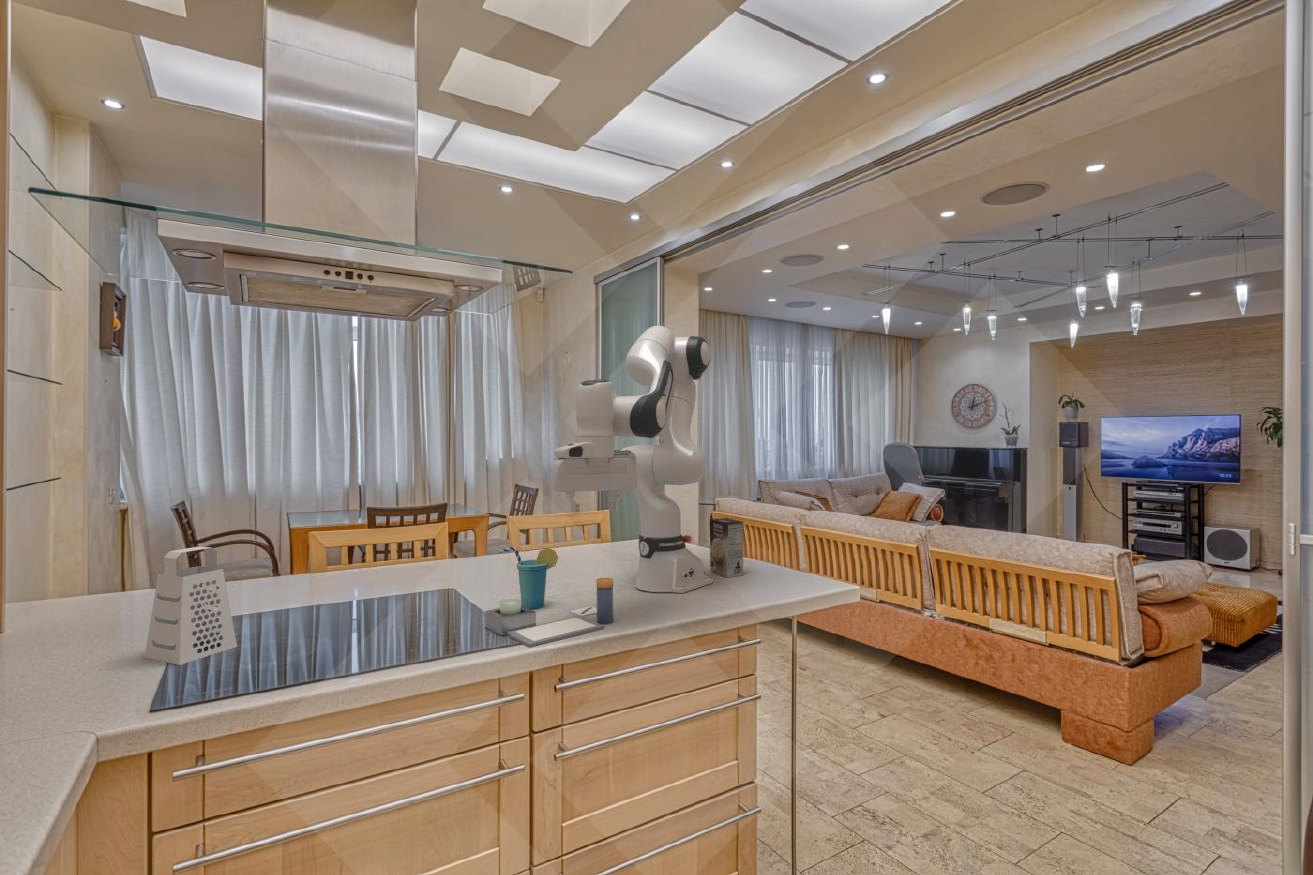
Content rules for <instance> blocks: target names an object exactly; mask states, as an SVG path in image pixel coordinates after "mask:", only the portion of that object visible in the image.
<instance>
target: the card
mask: <svg viewBox="0 0 1313 875" xmlns="http://www.w3.org/2000/svg"><path fill="white" fill-rule="evenodd" d="M569 613H571V614H574V615H576V616H581V617H587V616H591V615H592V616H593V615H597V607H594V606H592V605H591V606H586V607H581V608H577V609H572V610H570V611H569Z"/></svg>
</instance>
